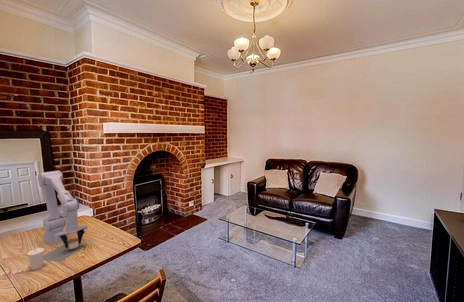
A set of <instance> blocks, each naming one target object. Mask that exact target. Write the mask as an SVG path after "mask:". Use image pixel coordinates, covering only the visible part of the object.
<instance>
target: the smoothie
mask: <svg viewBox="0 0 464 302" xmlns="http://www.w3.org/2000/svg"><path fill="white" fill-rule="evenodd" d="M32 245H33V246H32V247H33V249H30V251H28V252H27V253H26V254H27V255H26V256H27V258H28V261H29V265H30V267H31V270H32V271H36V270H39V269H41V268H42V267H43V266H44V265H43V264H44V260H43V256H44V255H45V252H46V251H45V248H44V247H37V248H36V243H35V242H33V244H32Z"/></svg>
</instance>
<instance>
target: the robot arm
mask: <svg viewBox="0 0 464 302" xmlns="http://www.w3.org/2000/svg"><path fill="white" fill-rule="evenodd" d="M37 180H38V181H37V182H38V186H39V187H40V188H43V195H44V198H45V203H46V209H47V215H46V216H45V217H44V218H43V219H42V227H43V230H44V232H43V234H42V237H43V243H44V244H49V245H56V244H60V243H62V242H63V245H65V248H68V244H67V241H68V240H69V238H68V235H71V234H75V233H76V234H77V238H78V240H79V245H81V243H82V240H83V236H84V234H85V230H88V225H87V224H85V225H79V218H78V210H79V209H80V203H79V201H78V200H77V199H76V198H74V197H73V195H72V194H71V192H70V191H69V190H66V189H65V186H64V184H63V182H62V180H63V173H62V171H60V170H53V171H45V172H39V173H38V176H37ZM55 191H56V192H57V195H56V192H55ZM57 198H58V200H59V202H60V204H61V210H62V212H60V211H59V207H58V201H57ZM64 228H65V230H64Z"/></svg>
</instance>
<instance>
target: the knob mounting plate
mask: <svg viewBox="0 0 464 302" xmlns="http://www.w3.org/2000/svg"><path fill="white" fill-rule="evenodd" d="M84 247H85V246H83V245H79V246H78V247H76V248H73V249H68V248H65V245H64V244H61V245H60V246H58V247H56V248H55V249H52V250H51V251H49V252H47V253H46V254H44V256H43V261H48V262H49V261H50V262H57V263H58V262H59V263H61V262H63V261H65V260H66V259H67V258H69V257H71V256H72V255H73V254H76V253H77V252H78V251H80V250H82V249H83V248H84Z"/></svg>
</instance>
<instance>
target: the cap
mask: <svg viewBox="0 0 464 302" xmlns="http://www.w3.org/2000/svg"><path fill="white" fill-rule="evenodd" d="M67 244H68V249H73V248H76V247H78V246H80V244H79V240H78V237H76V238H75V237H74V238H70V239H67Z"/></svg>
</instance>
